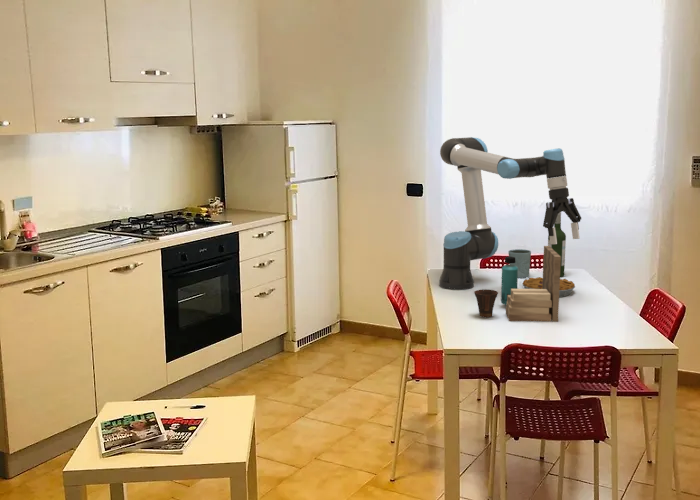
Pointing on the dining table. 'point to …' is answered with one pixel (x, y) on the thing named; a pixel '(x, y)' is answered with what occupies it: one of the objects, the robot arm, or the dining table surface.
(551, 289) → the offcut rack
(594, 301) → the dining table surface
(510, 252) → the grey plastic cylinder
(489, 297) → the cup
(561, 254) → the wine bottle
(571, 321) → the dining table surface
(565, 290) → the pie
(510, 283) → the beverage bottle
